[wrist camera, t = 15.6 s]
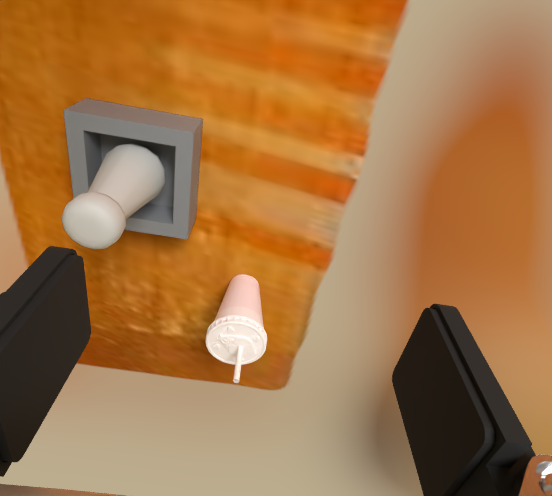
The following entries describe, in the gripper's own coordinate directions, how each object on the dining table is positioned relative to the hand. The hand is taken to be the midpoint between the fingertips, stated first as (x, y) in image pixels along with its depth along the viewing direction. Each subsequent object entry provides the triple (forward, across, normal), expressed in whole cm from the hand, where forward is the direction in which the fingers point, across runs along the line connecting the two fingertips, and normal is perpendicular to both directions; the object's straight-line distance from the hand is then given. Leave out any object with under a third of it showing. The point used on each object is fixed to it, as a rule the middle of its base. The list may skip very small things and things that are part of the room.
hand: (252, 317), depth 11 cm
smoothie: (+31, 0, +23) cm, 38 cm away
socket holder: (+30, +12, +9) cm, 34 cm away
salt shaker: (+30, +12, +9) cm, 33 cm away
